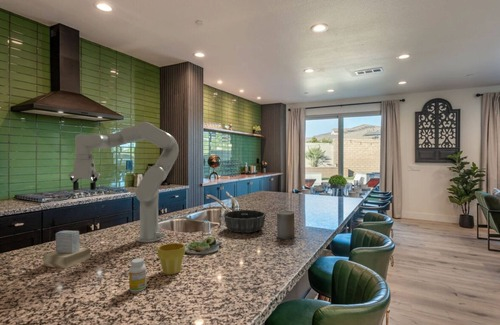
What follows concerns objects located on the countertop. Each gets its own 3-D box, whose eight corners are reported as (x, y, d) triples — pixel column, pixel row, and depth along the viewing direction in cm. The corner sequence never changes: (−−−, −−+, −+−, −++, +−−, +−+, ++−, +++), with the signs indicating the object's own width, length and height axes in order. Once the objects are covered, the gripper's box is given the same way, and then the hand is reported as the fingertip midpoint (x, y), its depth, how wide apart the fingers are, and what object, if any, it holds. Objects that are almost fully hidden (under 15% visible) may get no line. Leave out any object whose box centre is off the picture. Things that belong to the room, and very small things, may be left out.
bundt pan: (251, 238, 154) (251, 220, 154) (214, 231, 168) (214, 215, 168) (273, 227, 177) (273, 212, 177) (239, 223, 191) (239, 208, 191)
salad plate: (220, 257, 125) (219, 247, 125) (180, 258, 125) (180, 247, 125) (223, 244, 144) (222, 235, 144) (188, 244, 144) (188, 236, 144)
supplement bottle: (132, 285, 97) (132, 257, 97) (148, 284, 98) (147, 257, 98) (127, 292, 92) (126, 263, 92) (143, 291, 92) (143, 262, 92)
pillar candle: (294, 234, 160) (293, 208, 160) (295, 239, 151) (294, 211, 151) (277, 234, 161) (276, 208, 161) (277, 239, 152) (276, 211, 152)
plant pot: (163, 266, 114) (162, 242, 114) (188, 266, 114) (187, 242, 114) (153, 276, 104) (153, 250, 104) (181, 276, 104) (180, 250, 104)
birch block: (90, 259, 125) (90, 248, 125) (66, 269, 113) (66, 257, 113) (69, 257, 128) (69, 246, 128) (43, 267, 116) (43, 255, 116)
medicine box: (79, 250, 122) (79, 230, 122) (72, 253, 117) (72, 233, 117) (63, 249, 123) (63, 230, 123) (55, 253, 118) (55, 232, 118)
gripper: (103, 157, 150) (104, 189, 151) (74, 158, 152) (74, 189, 152) (94, 157, 143) (95, 190, 143) (63, 157, 145) (64, 190, 145)
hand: (84, 189), depth 148 cm, fingers open, 9 cm apart
